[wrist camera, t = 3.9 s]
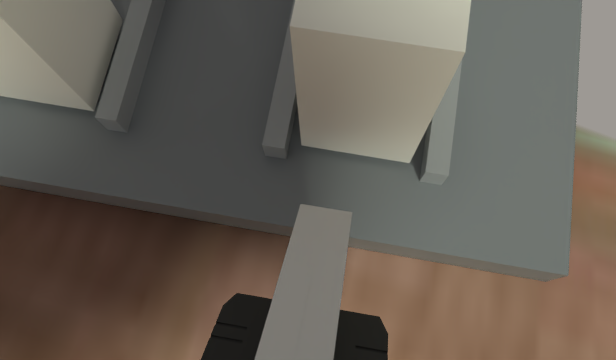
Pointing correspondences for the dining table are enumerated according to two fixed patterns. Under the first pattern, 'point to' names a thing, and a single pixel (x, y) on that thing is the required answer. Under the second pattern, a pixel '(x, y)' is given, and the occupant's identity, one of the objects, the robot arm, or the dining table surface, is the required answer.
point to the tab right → (374, 71)
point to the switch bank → (314, 161)
